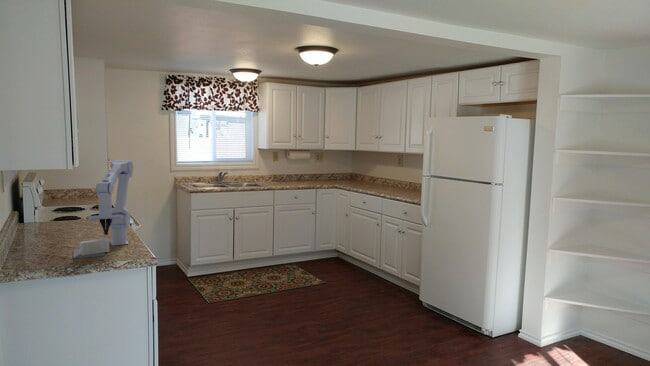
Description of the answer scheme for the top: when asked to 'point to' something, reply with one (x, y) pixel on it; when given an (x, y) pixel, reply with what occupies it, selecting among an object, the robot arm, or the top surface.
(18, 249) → the top surface
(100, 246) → the skincare box
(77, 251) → the mat
